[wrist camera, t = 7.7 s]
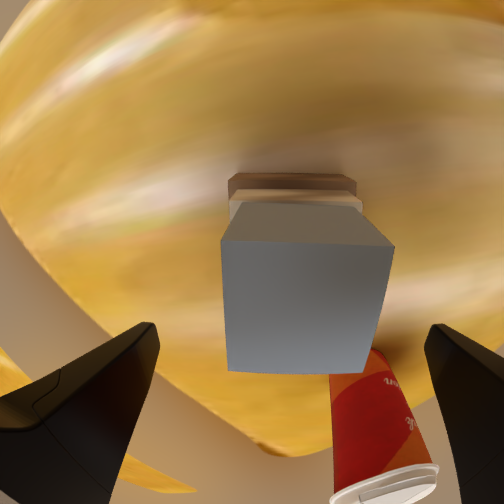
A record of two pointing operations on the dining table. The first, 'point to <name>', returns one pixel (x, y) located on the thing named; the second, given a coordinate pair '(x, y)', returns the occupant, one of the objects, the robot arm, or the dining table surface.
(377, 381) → the paper cup
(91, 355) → the robot arm
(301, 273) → the slate brick
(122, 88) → the dining table surface
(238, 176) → the tower base
